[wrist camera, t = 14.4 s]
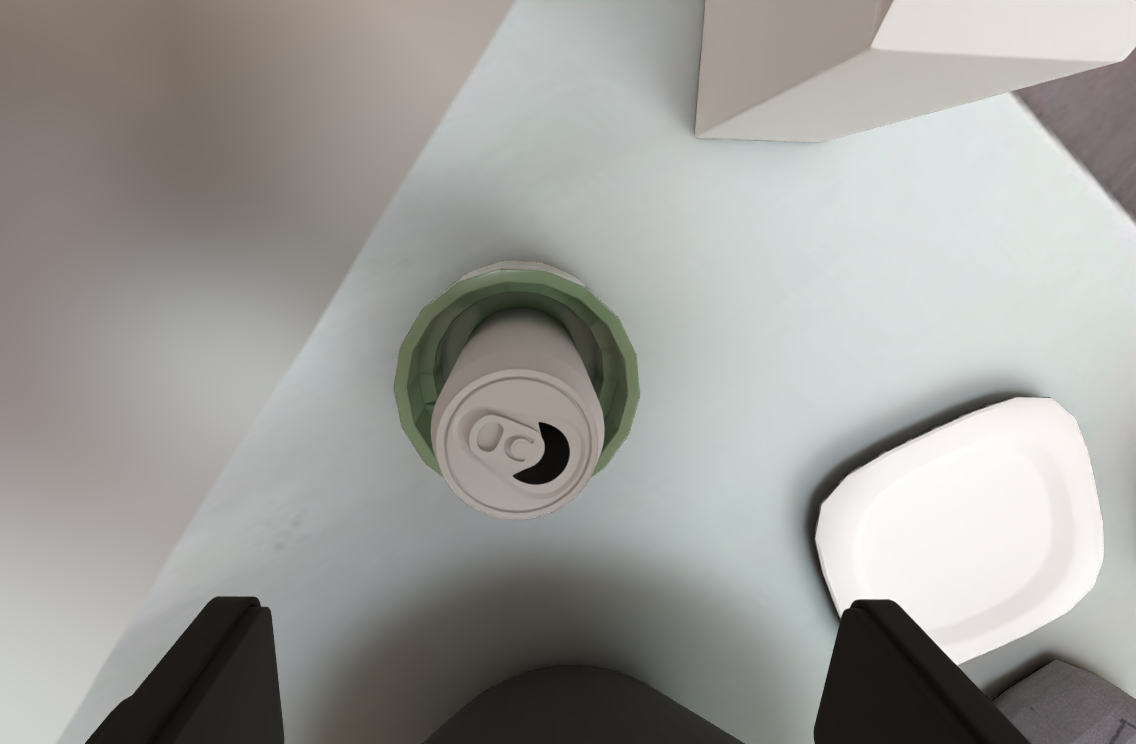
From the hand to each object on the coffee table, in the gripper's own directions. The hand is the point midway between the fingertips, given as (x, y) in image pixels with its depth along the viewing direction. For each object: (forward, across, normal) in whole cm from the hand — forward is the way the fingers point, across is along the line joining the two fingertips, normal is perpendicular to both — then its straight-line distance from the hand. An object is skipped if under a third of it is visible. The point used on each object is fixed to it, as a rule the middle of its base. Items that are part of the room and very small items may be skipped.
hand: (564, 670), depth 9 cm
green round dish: (+23, +1, +1) cm, 23 cm away
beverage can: (+22, +1, +1) cm, 22 cm away
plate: (+23, -28, +12) cm, 38 cm away
